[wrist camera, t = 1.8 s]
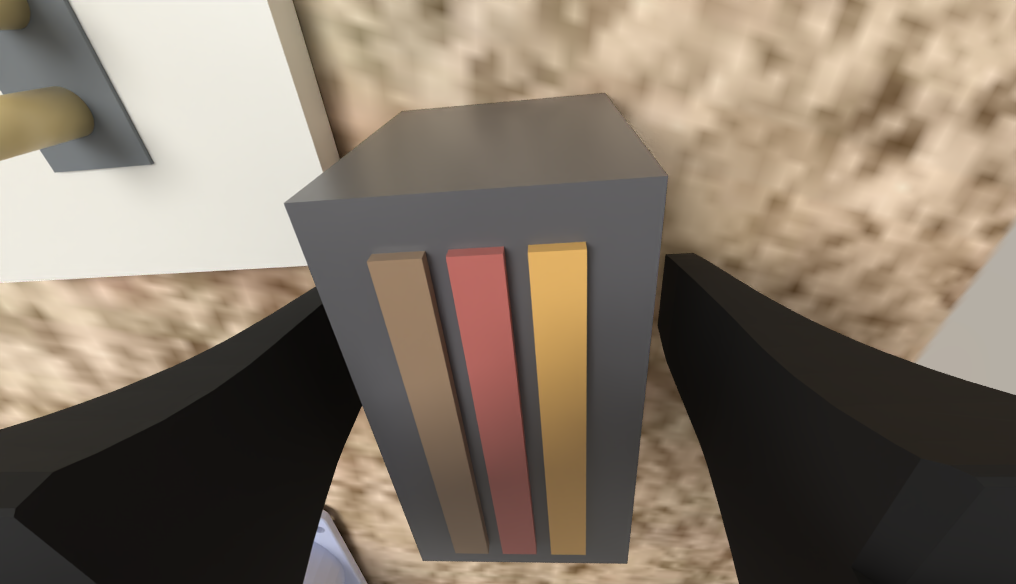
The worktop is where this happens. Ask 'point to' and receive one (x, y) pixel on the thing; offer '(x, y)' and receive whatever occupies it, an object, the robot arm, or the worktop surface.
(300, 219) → the block
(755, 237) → the worktop surface
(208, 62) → the header board
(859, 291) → the worktop surface
